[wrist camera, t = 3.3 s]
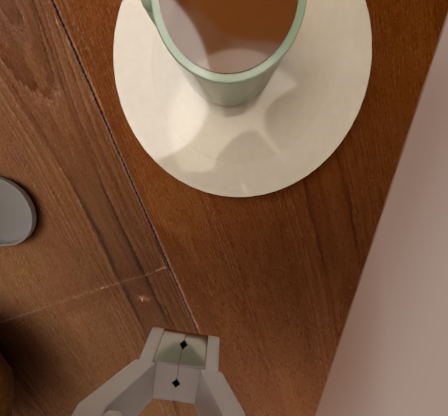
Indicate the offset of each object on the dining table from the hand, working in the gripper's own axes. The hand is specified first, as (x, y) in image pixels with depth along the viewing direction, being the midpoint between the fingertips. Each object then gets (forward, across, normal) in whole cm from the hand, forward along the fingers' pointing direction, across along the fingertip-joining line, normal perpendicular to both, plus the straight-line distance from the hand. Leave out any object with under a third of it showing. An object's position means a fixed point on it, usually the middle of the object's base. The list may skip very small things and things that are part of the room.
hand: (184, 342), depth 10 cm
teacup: (+10, +1, -15) cm, 18 cm away
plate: (+12, 0, -14) cm, 18 cm away
